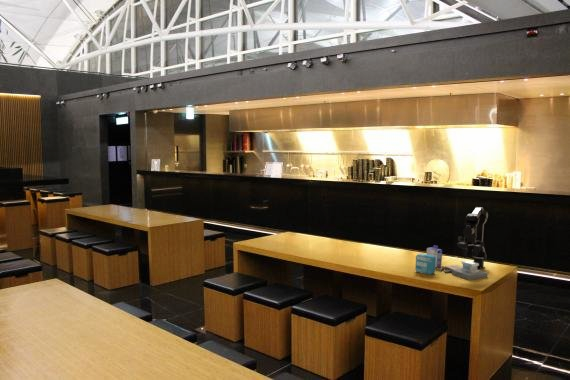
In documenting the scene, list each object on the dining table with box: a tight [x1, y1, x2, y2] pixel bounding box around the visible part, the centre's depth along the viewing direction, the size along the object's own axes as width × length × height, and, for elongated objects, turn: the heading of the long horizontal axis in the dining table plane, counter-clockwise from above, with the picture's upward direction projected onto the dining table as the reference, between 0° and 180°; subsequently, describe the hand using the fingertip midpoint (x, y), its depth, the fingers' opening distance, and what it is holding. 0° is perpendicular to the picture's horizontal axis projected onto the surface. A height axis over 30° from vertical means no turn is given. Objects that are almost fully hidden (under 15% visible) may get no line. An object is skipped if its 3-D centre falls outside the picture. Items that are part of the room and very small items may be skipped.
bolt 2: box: [443, 269, 453, 274], centre depth 324 cm, size 6×2×2 cm, turn 114°
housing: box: [461, 260, 479, 273], centre depth 316 cm, size 6×9×6 cm, turn 24°
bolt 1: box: [438, 265, 446, 272], centre depth 329 cm, size 6×2×2 cm, turn 139°
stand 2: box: [451, 269, 489, 281], centre depth 316 cm, size 16×15×3 cm
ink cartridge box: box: [426, 244, 443, 268], centre depth 341 cm, size 10×6×14 cm, turn 33°
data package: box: [414, 253, 436, 275], centre depth 323 cm, size 12×4×12 cm, turn 53°
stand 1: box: [444, 264, 463, 271], centre depth 329 cm, size 11×11×2 cm
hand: (470, 257), depth 316 cm, fingers open, 9 cm apart
